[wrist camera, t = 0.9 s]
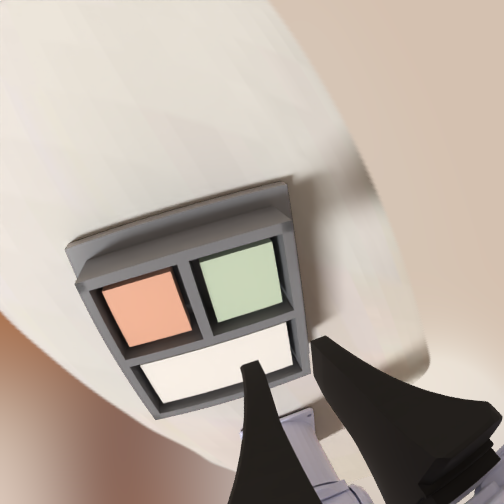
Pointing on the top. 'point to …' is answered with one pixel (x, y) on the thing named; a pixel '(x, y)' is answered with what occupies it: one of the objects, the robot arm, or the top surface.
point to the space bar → (218, 363)
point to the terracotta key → (148, 307)
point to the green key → (242, 279)
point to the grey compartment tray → (195, 284)
